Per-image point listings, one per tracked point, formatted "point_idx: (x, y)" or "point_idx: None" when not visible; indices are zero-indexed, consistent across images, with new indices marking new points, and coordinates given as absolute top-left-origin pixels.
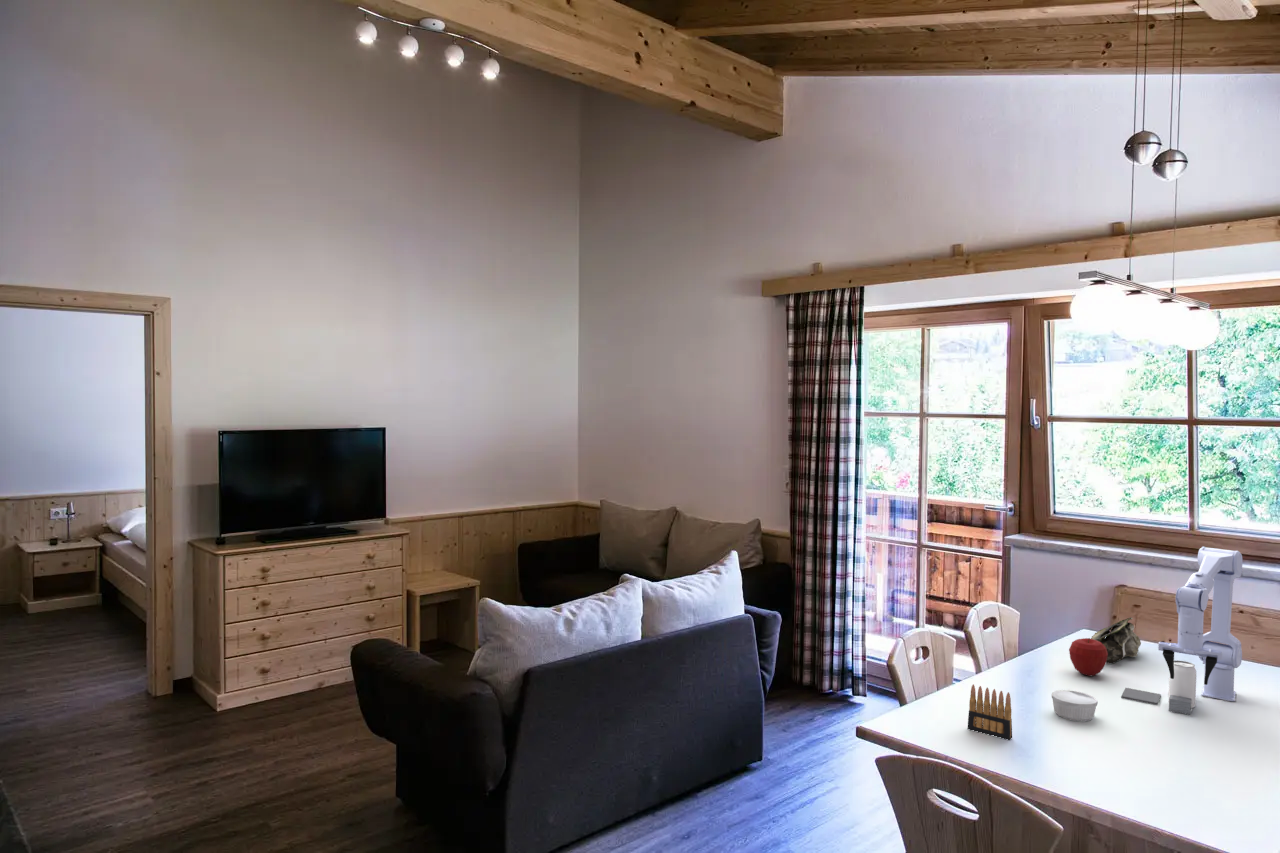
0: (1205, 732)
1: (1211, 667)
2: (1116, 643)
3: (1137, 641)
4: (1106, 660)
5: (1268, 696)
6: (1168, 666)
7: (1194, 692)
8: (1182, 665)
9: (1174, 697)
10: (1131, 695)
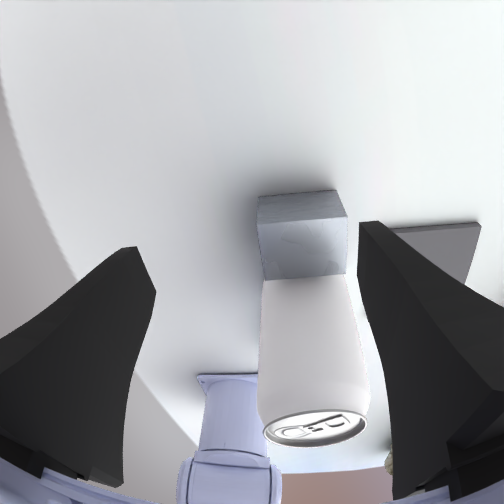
0: (158, 29)
1: (3, 344)
2: None
3: (392, 466)
4: None
5: (171, 415)
6: (446, 275)
7: (261, 322)
8: (317, 420)
9: (328, 248)
10: (453, 253)
